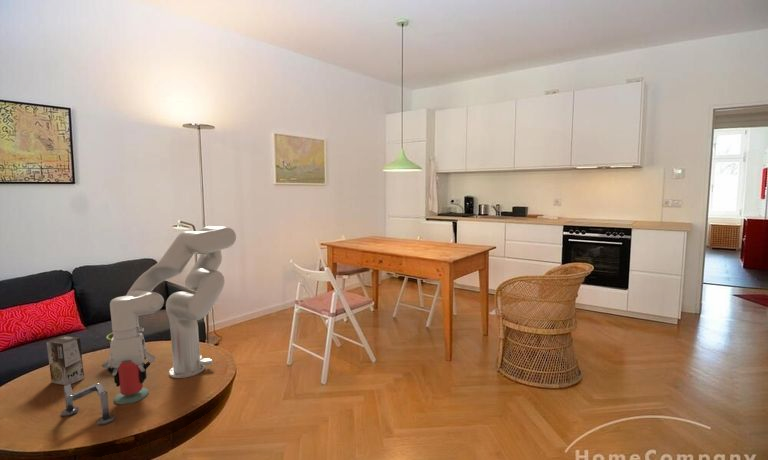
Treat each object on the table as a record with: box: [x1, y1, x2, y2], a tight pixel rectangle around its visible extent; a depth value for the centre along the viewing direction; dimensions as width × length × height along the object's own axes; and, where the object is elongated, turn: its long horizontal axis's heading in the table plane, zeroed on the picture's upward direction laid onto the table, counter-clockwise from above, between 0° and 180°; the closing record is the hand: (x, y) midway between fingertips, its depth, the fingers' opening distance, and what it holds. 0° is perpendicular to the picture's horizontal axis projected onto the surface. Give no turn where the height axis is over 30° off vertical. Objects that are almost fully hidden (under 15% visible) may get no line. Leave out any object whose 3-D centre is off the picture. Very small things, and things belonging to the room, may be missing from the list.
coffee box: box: [46, 335, 85, 386], centre depth 149 cm, size 9×6×16 cm
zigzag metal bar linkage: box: [60, 382, 116, 426], centre depth 125 cm, size 17×13×9 cm
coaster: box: [113, 387, 150, 405], centre depth 137 cm, size 10×10×1 cm
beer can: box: [118, 360, 144, 395], centre depth 136 cm, size 7×7×12 cm
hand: (131, 382), depth 137 cm, fingers closed on beer can, 6 cm apart
